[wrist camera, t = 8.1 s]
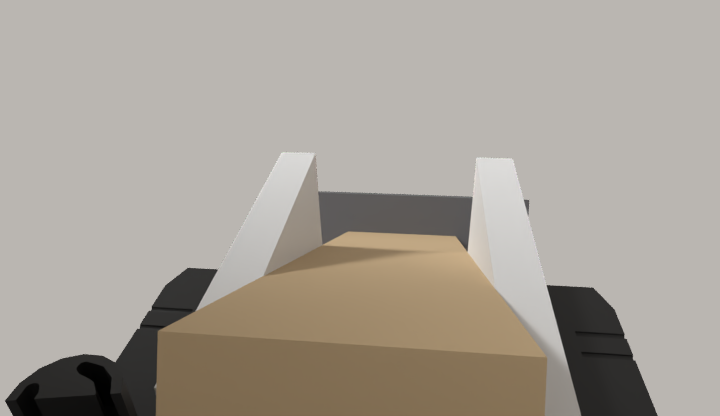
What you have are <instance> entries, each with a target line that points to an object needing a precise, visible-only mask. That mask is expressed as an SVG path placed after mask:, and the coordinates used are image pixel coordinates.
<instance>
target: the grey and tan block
mask: <svg viewBox="0 0 720 416" xmlns="http://www.w3.org/2000/svg"><path fill="white" fill-rule="evenodd" d="M318 195H319V208H320V221H321V234H322V246H320V247H318V248H316V249H314V250H312V251H310V252H309V253H307V254H305V255H303V256H301V257H299V258H297V259H295V260H293V261H291V262H290V263H288V264H286V265H284V266H282V267H280V268H278V269H276V270H274V271H272V272H270V273H269V274H267V275H265V276H262V277H260V278H258V279H256V280H255V281H253V282H251V283H249V284H247V285H245V286H243V287H241V288H239V289H237V290H235V291H234V292H232V293H230V294H228V295H226V296H224V297H222V298H220V299H218V300H216V301H214V302H213V303H211V304H209V305H207V306H205V307H203V308H201V309H199V310H197V311H195V312H193V313H191V314H190V315H188V316H186V317H184V318H182V319H180V320H178V321H176V322H174V323H172V324H170V325H169V326H167V327H165V328H163V329H161V330H159V331H158V343H157V386H156V416H545V398H546V376H547V356H546V355H545V354H544V352H543V351H542V350H541V348H540V347H539V346H538V345H537V343H536V342H535V341H534V339H533V338H532V337H531V335H530V334H529V333H528V331H527V330H526V329H525V327H524V326H523V325H522V323H521V322H520V321H519V319H518V318H517V317H516V315H515V314H514V313H513V311H512V310H511V309H510V307H509V306H508V305H507V303H506V302H505V301H504V300H503V298H502V297H501V296H500V294H499V293H498V292H497V290H496V289H495V288H494V287H493V285H492V284H491V283H490V281H489V280H488V279H487V277H486V276H485V275H484V273H483V272H482V271H481V269H480V268H479V267H478V265H477V264H476V263H475V261H474V260H473V259H472V257H471V256H470V255H469V253H468V242H469V232H470V221H471V211H472V200H473V197H462V196H461V197H460V196H434V195H406V194H377V193H350V192H318ZM524 203H525V207H526V210H527V214H528V211H529V200H524Z"/></svg>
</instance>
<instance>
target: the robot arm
mask: <svg viewBox="0 0 720 416" xmlns="http://www.w3.org/2000/svg"><path fill="white" fill-rule="evenodd" d="M315 157H316V156H315V153H290V152H282V153H281V155H280V157H279V159H278V160H277V162H276V164H275V166H274V168H273V170H272V171H271V173H270V175H269V177H268V179H267V181H266V183H265V185H264V186H263V188H262V190H261V192H260V194H259V195H258V197H257V199H256V201H255V203H254V205H253V206H252V209H251V210H250V212H249V214H248V216H247V218H246V219H245V221H244V223H243V225H242V227H241V228H240V230H239V233H238V234H237V236H236V238H235V240H234V241H233V243H232V245H231V247H230V249H229V251H228V252H227V254H226V256H225V258H224V260H223V262H222V264H221V265H220V267H219V269H218V270H216V269H196V268H187V269H186V270H185V271H184V272H182V273H181V274H180V275H179V276H177V277H176V278H174V279H173V280H172V281H171V282H169V283H168V284H167V285H166V286H165V287H164V289H163V290H162V292H161V293H160V295H159V296H158V298H157V299H156V301H155V302H154V304H153V306H152V310H151V311H149V312H148V313H147V315H146V316H145V318H144V319H143V321H142V323H141V325H140V329H137V330H136V332H135V333H134V335H133V337H132V338H131V340H130V341H129V342H128V344H127V346H126V347H125V349H124V350H123V352H122V353H121V355H120V356H119V358H118V359H117V361H116V362H113V361H111V360H109V359H108V358H105V357H104V356H98V355H87V354H86V355H85V354H83V355H78V356H73V357H68V358H63V359H60V360H58V361H56V362H53V363H52V364H49V365H47V366H44V367H42V368H40V369H38V370H37V371H36V372H34V373H33V374H32V375H30V376H29V377H27V378H26V379H25V380H23V381H22V382H21V383H19V385H18V386H17V387H16V388H15V389H14V391H13V392H12V393H11V394H10V395H9V397H8V398H7V399H6V400H5V402H6V403H7V405H8V407H9V409H10V411H11V413H12V414H13V416H156V386H157V343H158V331H159V330H161V329H163V328H165V327H167V326H169V325H170V324H172V323H174V322H176V321H178V320H180V319H182V318H184V317H186V316H188V315H190V314H191V313H193V312H195V311H197V310H199V309H201V308H203V307H205V306H207V305H209V304H211V303H213V302H214V301H216V300H218V299H220V298H222V297H224V296H226V295H228V294H230V293H232V292H234V291H235V290H237V289H239V288H241V287H243V286H245V285H247V284H249V283H251V282H253V281H255V280H256V279H258V278H260V277H262V276H265V275H267V274H269V273H270V272H272V271H274V270H276V269H278V268H280V267H282V266H284V265H286V264H288V263H290V262H291V261H293V260H295V259H297V258H299V257H301V256H303V255H305V254H307V253H309V252H310V251H312V250H314V249H316V248H318V247H320V246H322V234H321V221H320V208H319V195H318V182H317V169H316V158H315ZM468 253H469V255H470V256H471V257H472V259H473V260H474V261H475V263H476V264H477V265H478V267H479V268H480V269H481V271H482V272H483V273H484V275H485V276H486V277H487V279H488V280H489V281H490V283H491V284H492V285H493V287H494V288H495V289H496V290H497V292H498V293H499V294H500V296H501V297H502V298H503V300H504V301H505V302H506V303H507V305H508V306H509V307H510V309H511V310H512V311H513V313H514V314H515V315H516V317H517V318H518V319H519V321H520V322H521V323H522V325H523V326H524V327H525V329H526V330H527V331H528V333H529V334H530V335H531V337H532V338H533V339H534V341H535V342H536V343H537V345H538V346H539V347H540V348H541V350H542V351H543V352H544V354H545V355H546V356H547V376H546V398H545V416H657V413H656V411H655V408H654V406H653V403H652V401H651V399H650V396H649V393H648V391H647V389H646V386H645V384H644V381H643V379H642V376H641V374H640V371H639V369H638V367H637V364H636V362H635V361H634V360H633V354H632V352H631V349H630V347H629V344H628V342H627V339H624V332H623V329H622V327H621V325H620V322H619V320H618V318H617V315H616V312H615V310H614V309H613V308H612V307H611V306H610V305H609V304H608V303H607V302H606V301H605V300H604V298H603V297H602V296H601V295H600V294H599V293H598V292H597V291H595V289H594V288H586V287H569V286H550V285H546V282H545V278H544V274H543V271H542V267H541V263H540V259H539V255H538V252H537V248H536V244H535V241H534V237H533V233H532V229H531V225H530V222H529V218H528V214H527V210H526V207H525V203H524V199H523V195H522V192H521V188H520V184H519V181H518V177H517V173H516V169H515V165H514V162H513V159H507V158H476V170H475V180H474V191H473V200H472V211H471V221H470V232H469V242H468Z"/></svg>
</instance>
